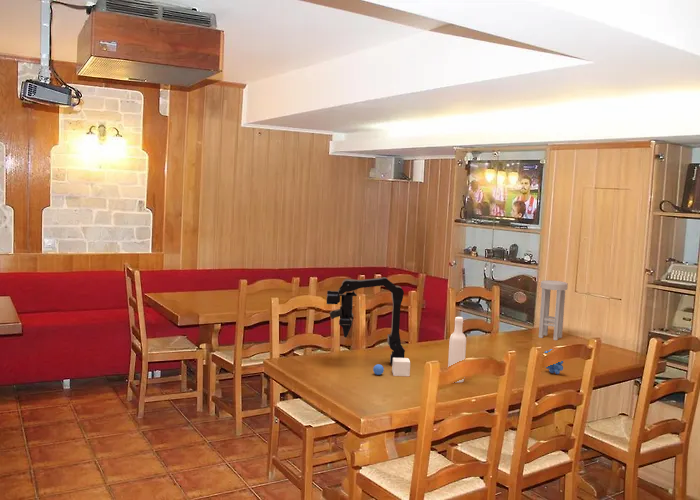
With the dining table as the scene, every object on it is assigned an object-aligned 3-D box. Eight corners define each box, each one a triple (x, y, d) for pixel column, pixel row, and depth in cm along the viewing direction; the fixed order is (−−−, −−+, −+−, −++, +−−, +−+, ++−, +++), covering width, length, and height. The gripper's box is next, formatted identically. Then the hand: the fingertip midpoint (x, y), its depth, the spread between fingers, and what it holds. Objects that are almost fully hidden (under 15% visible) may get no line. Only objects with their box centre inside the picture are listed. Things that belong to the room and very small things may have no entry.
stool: (559, 341, 407) (563, 284, 404) (534, 337, 415) (538, 281, 412) (566, 337, 420) (570, 282, 417) (541, 333, 428) (545, 279, 425)
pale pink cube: (407, 371, 324) (408, 358, 324) (409, 376, 317) (410, 362, 316) (392, 371, 324) (392, 357, 324) (393, 375, 316) (394, 361, 316)
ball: (383, 373, 320) (383, 363, 319) (383, 376, 315) (384, 366, 314) (372, 373, 320) (373, 362, 319) (373, 376, 315) (373, 365, 314)
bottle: (465, 379, 315) (469, 316, 313) (462, 383, 308) (466, 319, 305) (448, 377, 318) (452, 315, 315) (445, 381, 311) (449, 317, 308)
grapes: (537, 371, 334) (538, 348, 333) (544, 369, 339) (546, 346, 338) (557, 377, 326) (559, 353, 325) (565, 375, 330) (566, 351, 329)
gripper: (332, 300, 343) (331, 330, 344) (329, 307, 324) (328, 338, 326) (353, 301, 342) (352, 331, 344) (352, 308, 324) (351, 339, 325)
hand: (345, 335), depth 335 cm, fingers open, 9 cm apart
